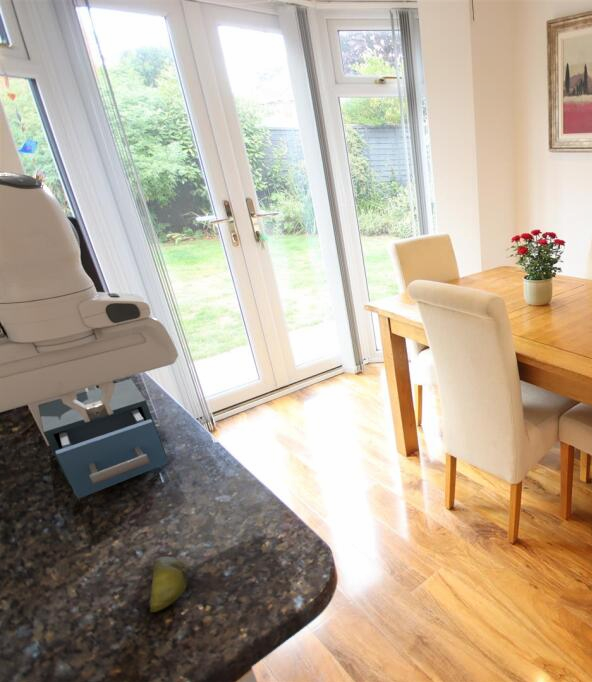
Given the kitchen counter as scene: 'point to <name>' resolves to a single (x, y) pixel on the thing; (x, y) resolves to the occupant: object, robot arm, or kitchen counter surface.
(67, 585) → the kitchen counter surface
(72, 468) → the drawer
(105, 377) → the robot arm
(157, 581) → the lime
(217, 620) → the kitchen counter surface
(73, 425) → the cabinet
